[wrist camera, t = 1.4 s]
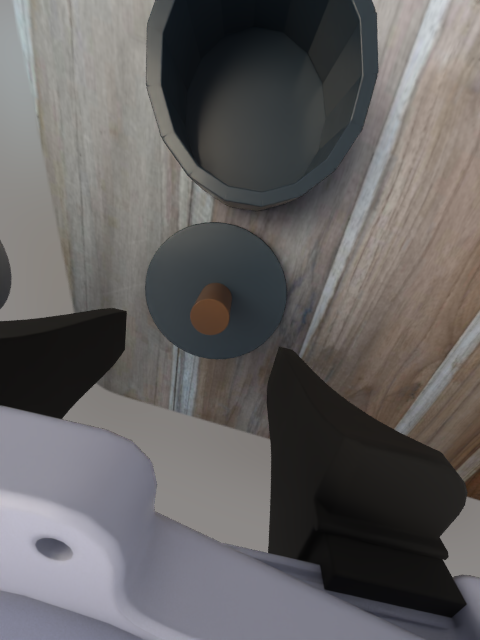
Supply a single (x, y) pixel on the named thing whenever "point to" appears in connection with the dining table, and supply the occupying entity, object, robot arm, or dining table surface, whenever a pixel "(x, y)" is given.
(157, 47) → the pot
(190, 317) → the lid
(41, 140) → the dining table surface
